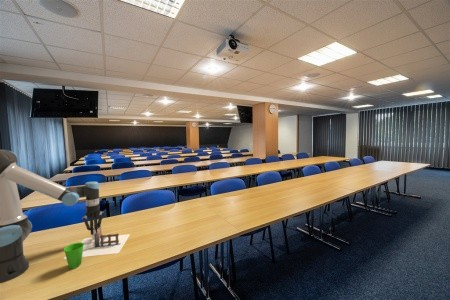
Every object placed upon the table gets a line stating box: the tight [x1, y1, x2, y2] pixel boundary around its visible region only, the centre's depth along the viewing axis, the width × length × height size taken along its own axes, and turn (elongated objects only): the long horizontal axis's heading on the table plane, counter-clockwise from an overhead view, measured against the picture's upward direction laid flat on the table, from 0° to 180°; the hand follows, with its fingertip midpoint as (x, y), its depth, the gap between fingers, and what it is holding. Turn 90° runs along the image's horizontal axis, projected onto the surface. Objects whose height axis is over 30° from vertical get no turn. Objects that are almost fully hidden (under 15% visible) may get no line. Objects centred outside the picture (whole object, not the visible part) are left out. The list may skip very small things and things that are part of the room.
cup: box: [63, 241, 84, 270], centre depth 106 cm, size 9×9×11 cm
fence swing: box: [97, 225, 103, 241], centre depth 133 cm, size 2×12×8 cm, turn 26°
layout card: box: [62, 233, 131, 260], centre depth 127 cm, size 25×30×1 cm
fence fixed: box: [94, 233, 120, 247], centre depth 127 cm, size 2×14×8 cm, turn 100°
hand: (94, 238), depth 132 cm, fingers closed
